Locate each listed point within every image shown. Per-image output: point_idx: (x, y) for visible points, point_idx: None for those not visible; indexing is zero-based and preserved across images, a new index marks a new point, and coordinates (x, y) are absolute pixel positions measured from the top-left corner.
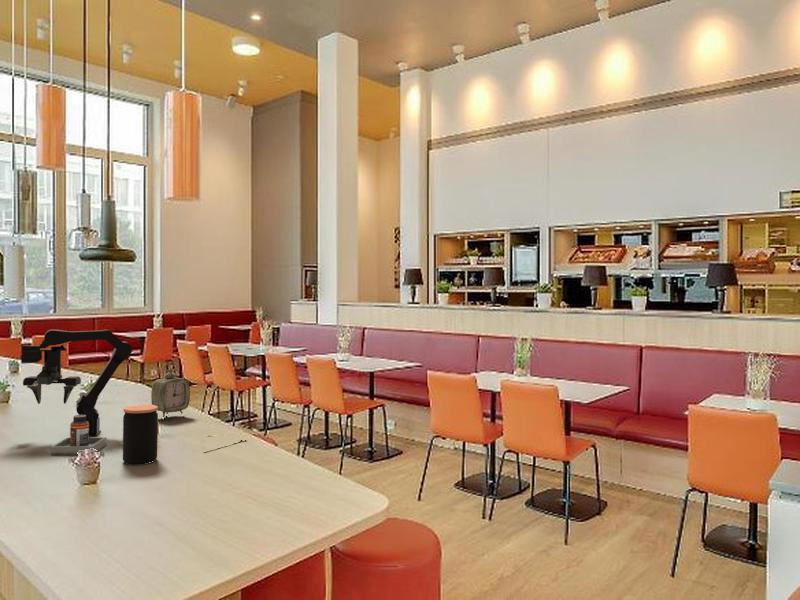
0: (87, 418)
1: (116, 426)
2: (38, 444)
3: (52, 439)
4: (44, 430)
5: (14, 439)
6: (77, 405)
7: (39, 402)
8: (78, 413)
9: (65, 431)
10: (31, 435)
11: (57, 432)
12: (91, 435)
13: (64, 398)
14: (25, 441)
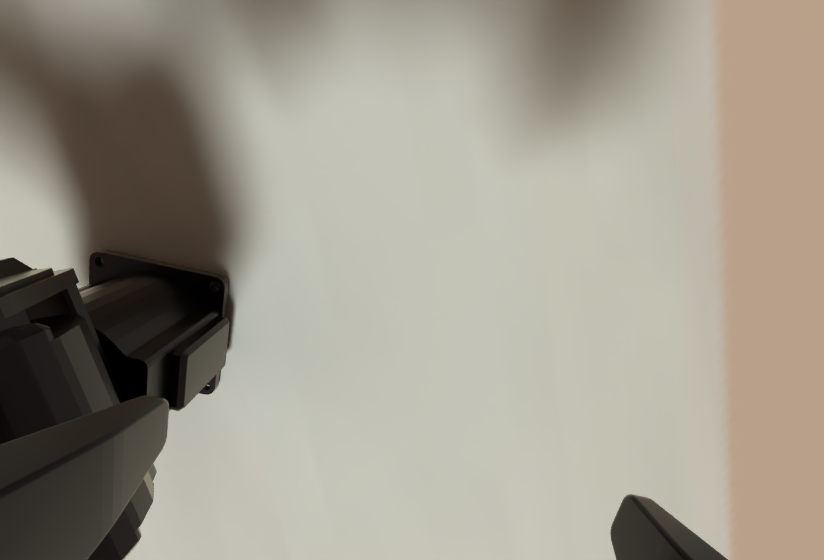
0: (18, 275)
1: None
2: (472, 51)
3: (395, 216)
4: (497, 512)
5: (667, 290)
6: (3, 415)
7: (632, 520)
8: (74, 320)
9: (356, 452)
10: (563, 388)
11: (403, 436)
12: (126, 255)
13: (55, 450)
14: (584, 198)
